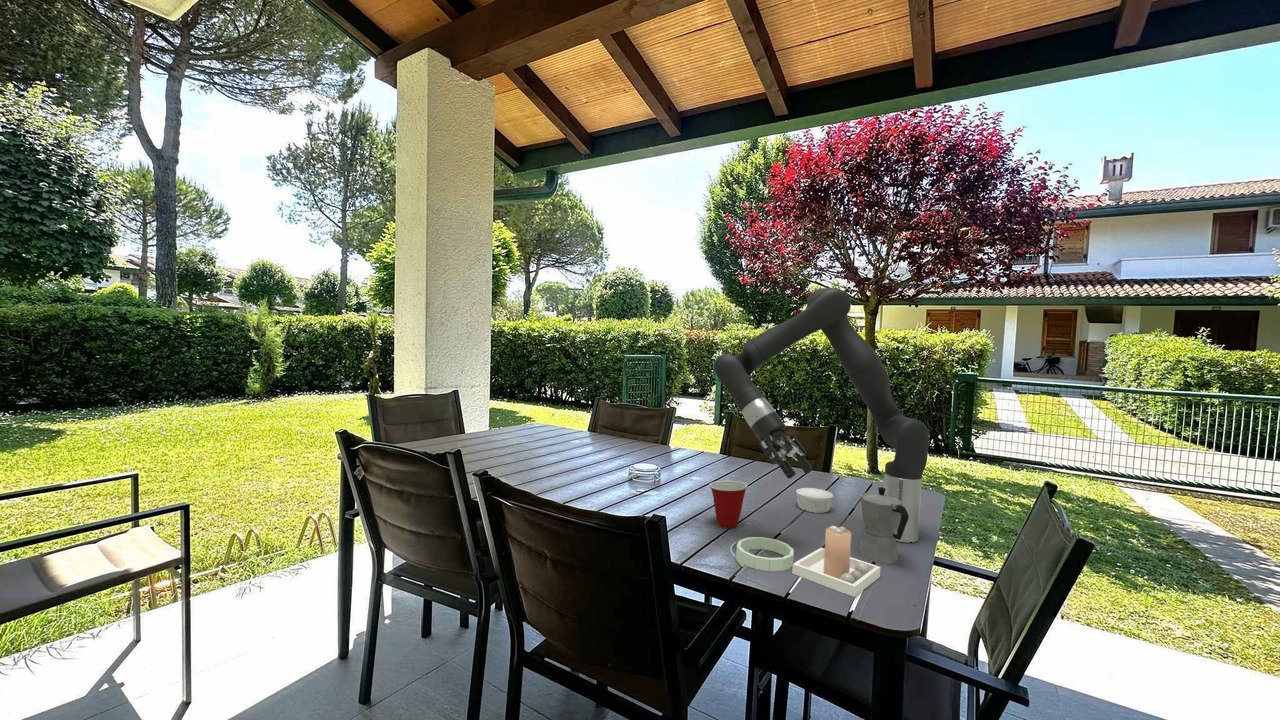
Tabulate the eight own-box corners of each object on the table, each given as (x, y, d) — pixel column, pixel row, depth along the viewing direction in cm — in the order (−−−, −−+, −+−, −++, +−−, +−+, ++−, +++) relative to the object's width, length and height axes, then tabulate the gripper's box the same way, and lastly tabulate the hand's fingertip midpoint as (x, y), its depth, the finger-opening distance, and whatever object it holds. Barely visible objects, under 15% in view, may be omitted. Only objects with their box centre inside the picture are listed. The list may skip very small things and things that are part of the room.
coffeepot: (844, 549, 134) (848, 480, 133) (875, 547, 136) (879, 479, 135) (886, 576, 119) (891, 499, 118) (920, 573, 121) (925, 497, 121)
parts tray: (820, 559, 127) (821, 544, 127) (879, 580, 117) (880, 563, 117) (792, 576, 117) (792, 560, 117) (854, 600, 107) (855, 582, 107)
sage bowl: (741, 547, 133) (742, 533, 133) (794, 556, 128) (795, 542, 128) (732, 567, 121) (733, 553, 120) (790, 578, 116) (791, 563, 116)
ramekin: (789, 503, 171) (790, 487, 171) (822, 503, 172) (823, 487, 172) (804, 514, 160) (805, 498, 160) (838, 514, 161) (839, 498, 161)
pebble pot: (823, 567, 121) (826, 521, 120) (848, 572, 119) (851, 525, 118) (823, 577, 116) (825, 529, 115) (849, 582, 114) (852, 533, 113)
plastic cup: (719, 515, 156) (721, 476, 156) (752, 524, 149) (754, 483, 149) (700, 524, 148) (701, 483, 147) (733, 535, 141) (735, 491, 140)
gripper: (757, 412, 126) (797, 469, 118) (787, 409, 136) (826, 462, 128) (737, 430, 130) (775, 487, 122) (767, 426, 140) (804, 478, 132)
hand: (801, 474), depth 125 cm, fingers open, 8 cm apart
